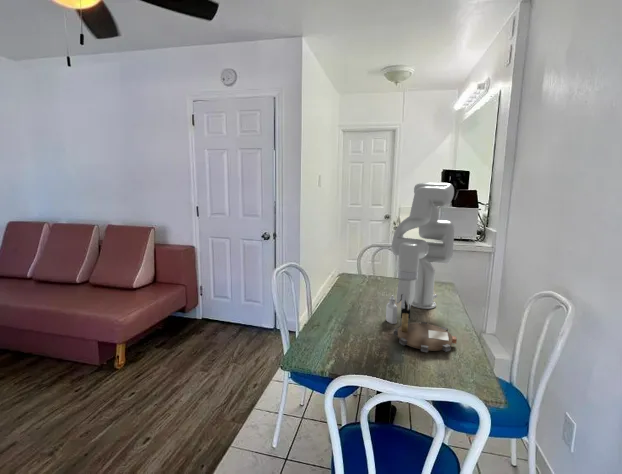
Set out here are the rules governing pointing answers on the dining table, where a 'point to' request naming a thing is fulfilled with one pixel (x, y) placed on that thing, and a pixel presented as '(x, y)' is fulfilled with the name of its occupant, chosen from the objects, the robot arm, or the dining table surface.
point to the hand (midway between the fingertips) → (405, 318)
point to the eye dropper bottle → (391, 311)
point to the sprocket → (424, 336)
